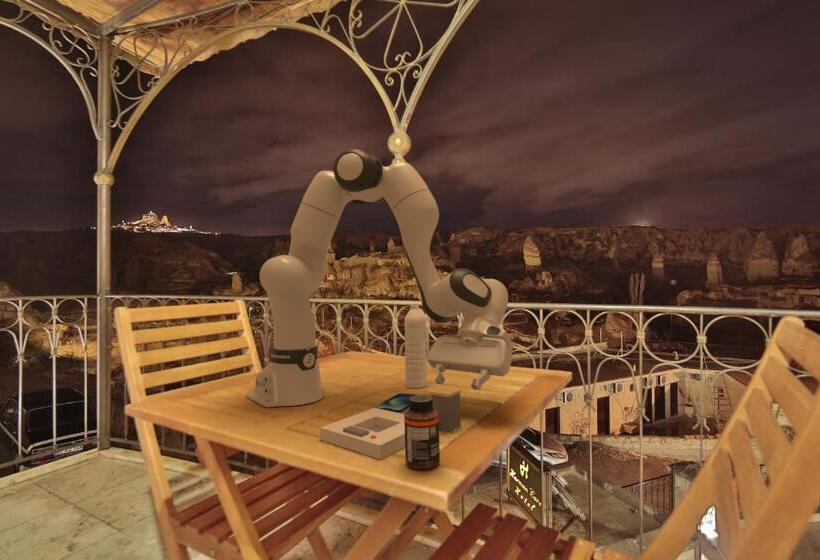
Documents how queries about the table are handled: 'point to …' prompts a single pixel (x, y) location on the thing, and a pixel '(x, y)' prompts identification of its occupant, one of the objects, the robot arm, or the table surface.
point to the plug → (447, 408)
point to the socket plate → (368, 432)
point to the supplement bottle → (421, 433)
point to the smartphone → (396, 403)
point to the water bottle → (415, 348)
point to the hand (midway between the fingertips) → (456, 385)
